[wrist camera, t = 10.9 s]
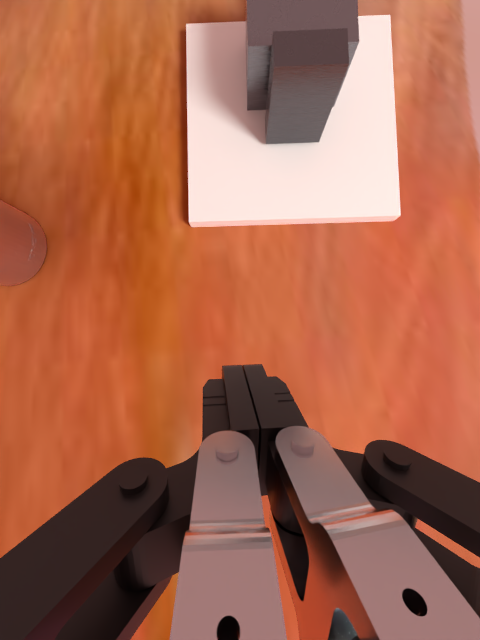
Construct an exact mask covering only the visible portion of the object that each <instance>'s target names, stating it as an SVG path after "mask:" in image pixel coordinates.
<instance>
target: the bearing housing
mask: <svg viewBox="0 0 480 640" xmlns="http://www.w3.org/2000/svg"><path fill="white" fill-rule="evenodd" d="M341 28H348V49H349V65H348V68H347V70H346V73H345V76H344V78H343V81H342V83H341V86H340V89H339V91H338V94H337V96H336V99H335V102H334V104H333V107H334V105H335V103H336V100H337V98H338V95H339V92H340V90H341V87H342V85H343V82H344V80H345V77H346V74H347V72H348V69H349V67H350V64H351V62H352V59H353V57H354V54H355V51H356V49H357V46H358V44H359V24H358V2H357V0H246V81H247V111H249V110H266V103H267V92H268V81H269V70H270V59H271V48H272V38H273V31H295V30H318V29H341Z"/></svg>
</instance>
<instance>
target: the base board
mask: <svg viewBox="0 0 480 640" xmlns="http://www.w3.org/2000/svg"><path fill="white" fill-rule="evenodd" d="M358 24H359V44H358V46H357V49H356V51H355V54H354V57H353V59H352V62H351V64H350V67H349V69H348V72H347V74H346V77H345V80H344V82H343V85H342V87H341V90H340V92H339V95H338V98H337V100H336V103H335V105H334V107H332V109H331V112H330V115H329V117H328V120H327V123H326V125H325V128H324V130H323V133H322V136H321V138H320V141H319V142H312V143H284V144H266V134H265V114H266V110H249V111H247V81H246V21H240V22H217V23H195V24H186V53H187V128H188V204H189V223H190V225H191V227H210V226H244V225H277V224H311V223H344V222H377V221H394V220H395V219H397V218H398V217H399V216H401V212H400V193H399V174H398V155H397V136H396V117H395V98H394V79H393V60H392V41H391V22H390V15H376V16H358Z"/></svg>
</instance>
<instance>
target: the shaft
mask: <svg viewBox="0 0 480 640" xmlns="http://www.w3.org/2000/svg"><path fill="white" fill-rule="evenodd" d="M348 65H349V49H348V28H341V29H318V30H295V31H273V38H272V48H271V59H270V70H269V81H268V92H267V103H266V114H265V134H266V144H284V143H312V142H319V141H320V138H321V136H322V133H323V130H324V128H325V125H326V123H327V120H328V117H329V115H330V112H331V109H332V107H333V104H334V102H335V99H336V96H337V94H338V91H339V89H340V86H341V83H342V81H343V78H344V76H345V73H346V70H347V68H348Z"/></svg>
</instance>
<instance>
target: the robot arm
mask: <svg viewBox="0 0 480 640" xmlns="http://www.w3.org/2000/svg"><path fill="white" fill-rule="evenodd" d="M46 250H47V243H46V237H45V234H44V231H43V230H42V228H41V226H40V225H39V224H38V223H37V221H36V220H35V219H33V218H32V217H30V216H29V215H27V214H25V213H24V212H22V211H20V210H18V209H16V208H14V207H13V206H11V205H9V204H7V203H5V202H3V201H2V200H0V285H2V286H13V285H18V284H21V283H23V282H25V281H27V280H29V279H30V278H31V277H33V276H34V275H35V274H36V273H37V272H38V271H39V269H40V268H41V266H42V264H43V262H44V259H45V256H46ZM263 495H268V498H269V502H270V526H271V529H272V533H273V536H274V539H275V543H276V546H277V549H278V553H279V556H280V559H281V563H282V566H283V570H284V573H285V576H286V580H287V583H288V586H289V590H290V593H291V596H292V600H293V603H294V607H295V611H296V615H297V621H298V629H299V638H300V640H480V568H477V567H475V566H473V565H471V564H470V563H468V562H467V561H465V560H464V559H462V558H461V557H459V556H458V555H456V554H454V553H453V552H451V551H450V550H448V549H447V548H445V547H444V546H442V545H441V544H439V543H438V542H436V541H435V540H433V539H432V538H430V537H428V536H427V535H425V534H424V533H422V532H421V531H419V530H418V529H416V528H415V525H416V522H417V519H420V520H421V521H423V522H424V523H426V524H428V525H429V526H431V527H432V528H434V529H435V530H437V531H439V532H440V533H442V534H443V535H445V536H447V537H448V538H450V539H451V540H453V541H454V542H456V543H458V544H459V545H461V546H462V547H464V548H466V549H467V550H469V551H470V552H472V553H474V554H475V555H477V556H478V557H480V483H479V482H477V481H475V480H473V479H471V478H469V477H467V476H465V475H463V474H461V473H459V472H457V471H455V470H453V469H451V468H449V467H447V466H444V465H442V464H440V463H438V462H436V461H434V460H432V459H430V458H428V457H426V456H424V455H422V454H420V453H418V452H416V451H414V450H412V449H410V448H408V447H406V446H403V445H401V444H399V443H396V442H392V441H387V440H376V441H372V442H370V443H369V444H368V445H367V446H366V448H365V452H364V454H360V453H354V452H348V451H343V450H338V449H335V448H332V447H331V445H330V444H329V442H328V441H327V440H326V438H325V437H324V436H323V435H321V434H320V433H319V432H317V431H315V430H313V429H311V428H309V427H308V425H307V423H306V422H305V420H304V418H303V416H302V414H301V412H300V410H299V408H298V406H297V404H296V403H295V402H294V399H293V397H292V395H291V394H290V391H289V389H288V387H287V385H286V384H285V383H284V382H283V381H282V380H280V379H279V378H278V377H267V375H266V372H265V370H264V368H263V365H262V364H254V365H230V366H222V379H210V380H208V381H207V383H206V384H205V386H204V387H203V437H202V443H201V446H200V448H199V450H198V451H197V452H196V453H195V454H194V455H193V456H192V457H191V458H189V459H188V460H186V461H184V462H182V463H180V464H177V465H174V466H172V467H169V468H165V466H164V465H163V464H162V463H161V462H159V461H158V460H155V459H152V458H136V459H132V460H129V461H126V462H124V463H122V464H120V465H119V466H117V467H116V468H114V469H113V470H112V471H110V472H109V473H108V474H107V475H105V476H104V477H103V478H102V479H100V480H99V481H98V482H97V483H95V484H94V485H93V486H91V487H90V488H89V489H88V490H86V491H85V492H84V493H83V494H81V495H80V496H79V497H78V498H76V499H75V500H74V501H72V502H71V503H70V504H69V505H67V506H66V507H65V508H64V509H62V510H61V511H60V512H58V513H57V514H56V515H55V516H53V517H52V518H51V519H50V520H48V521H47V522H46V523H45V524H43V525H42V526H41V527H39V528H38V529H37V530H36V531H34V532H33V533H32V534H31V535H29V536H28V537H27V538H26V539H24V540H23V541H22V542H20V543H19V544H18V545H17V546H15V547H14V548H13V549H12V550H10V551H9V552H8V553H7V554H5V555H4V556H3V557H1V558H0V640H130V639H131V637H132V636H133V635H134V633H135V632H136V630H137V629H138V627H139V626H140V624H141V623H142V622H143V620H144V619H145V617H146V616H147V614H148V613H149V612H150V610H151V609H152V607H153V606H154V604H155V603H156V601H157V600H158V599H159V597H160V596H161V594H162V593H163V591H164V590H165V588H166V587H167V585H168V584H169V582H170V580H171V577H172V575H174V574H176V573H178V572H179V576H178V583H177V590H176V597H175V605H174V612H173V619H172V627H171V634H170V640H287V637H286V631H285V624H284V617H283V610H282V604H281V597H280V590H279V583H278V577H277V570H276V563H275V556H274V550H273V543H272V538H271V534H270V530H269V528H266V527H265V522H264V515H263V507H262V500H261V496H263Z"/></svg>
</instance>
